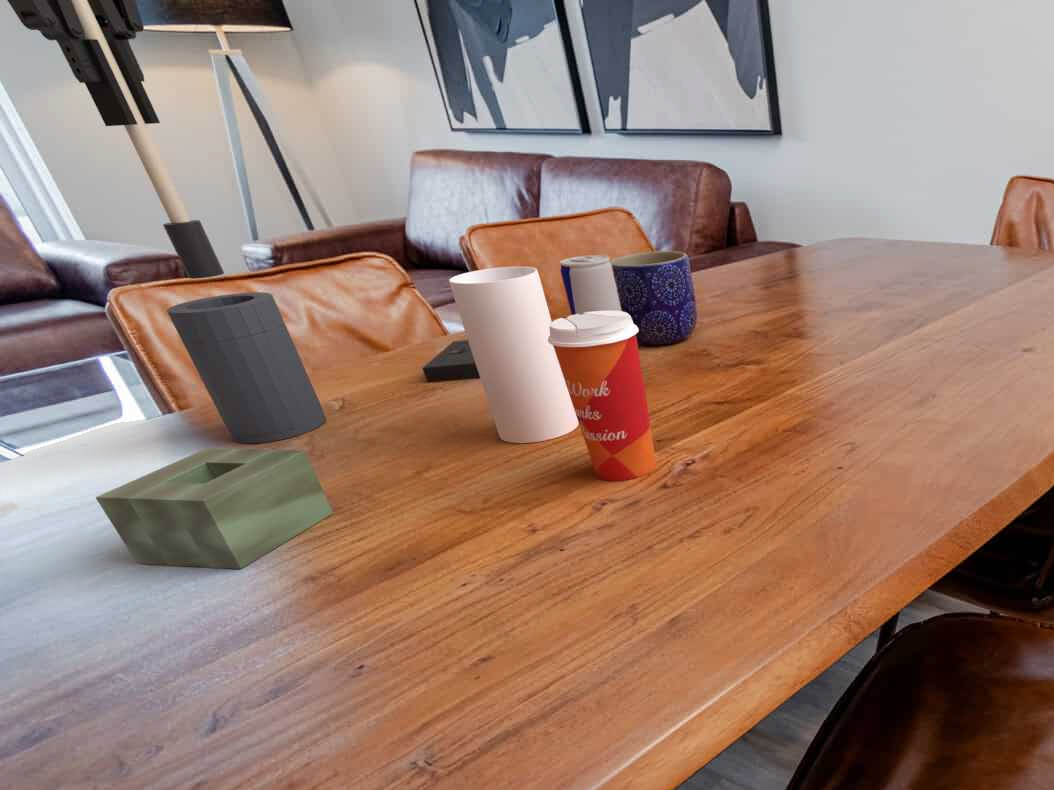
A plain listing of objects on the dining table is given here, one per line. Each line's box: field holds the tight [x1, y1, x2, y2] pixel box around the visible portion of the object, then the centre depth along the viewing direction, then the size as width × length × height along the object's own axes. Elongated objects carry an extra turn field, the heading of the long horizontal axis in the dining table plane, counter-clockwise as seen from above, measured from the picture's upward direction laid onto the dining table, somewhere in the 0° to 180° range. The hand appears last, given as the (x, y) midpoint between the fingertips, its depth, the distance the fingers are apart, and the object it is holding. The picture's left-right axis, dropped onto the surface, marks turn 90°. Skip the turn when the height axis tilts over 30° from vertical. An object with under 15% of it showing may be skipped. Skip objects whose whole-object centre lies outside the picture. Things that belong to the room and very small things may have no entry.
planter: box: [609, 250, 698, 347], centre depth 116 cm, size 11×11×11 cm
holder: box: [95, 448, 334, 570], centre depth 69 cm, size 10×10×6 cm
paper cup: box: [548, 311, 657, 482], centre depth 75 cm, size 8×8×14 cm
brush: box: [71, 0, 225, 280], centre depth 78 cm, size 3×3×23 cm
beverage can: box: [559, 254, 622, 315], centre depth 97 cm, size 6×6×15 cm
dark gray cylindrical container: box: [166, 291, 327, 445], centre depth 90 cm, size 9×9×14 cm
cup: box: [448, 266, 579, 444], centre depth 85 cm, size 8×8×16 cm
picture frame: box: [422, 339, 480, 383], centre depth 113 cm, size 13×2×18 cm
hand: (133, 124), depth 77 cm, fingers closed on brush, 2 cm apart
